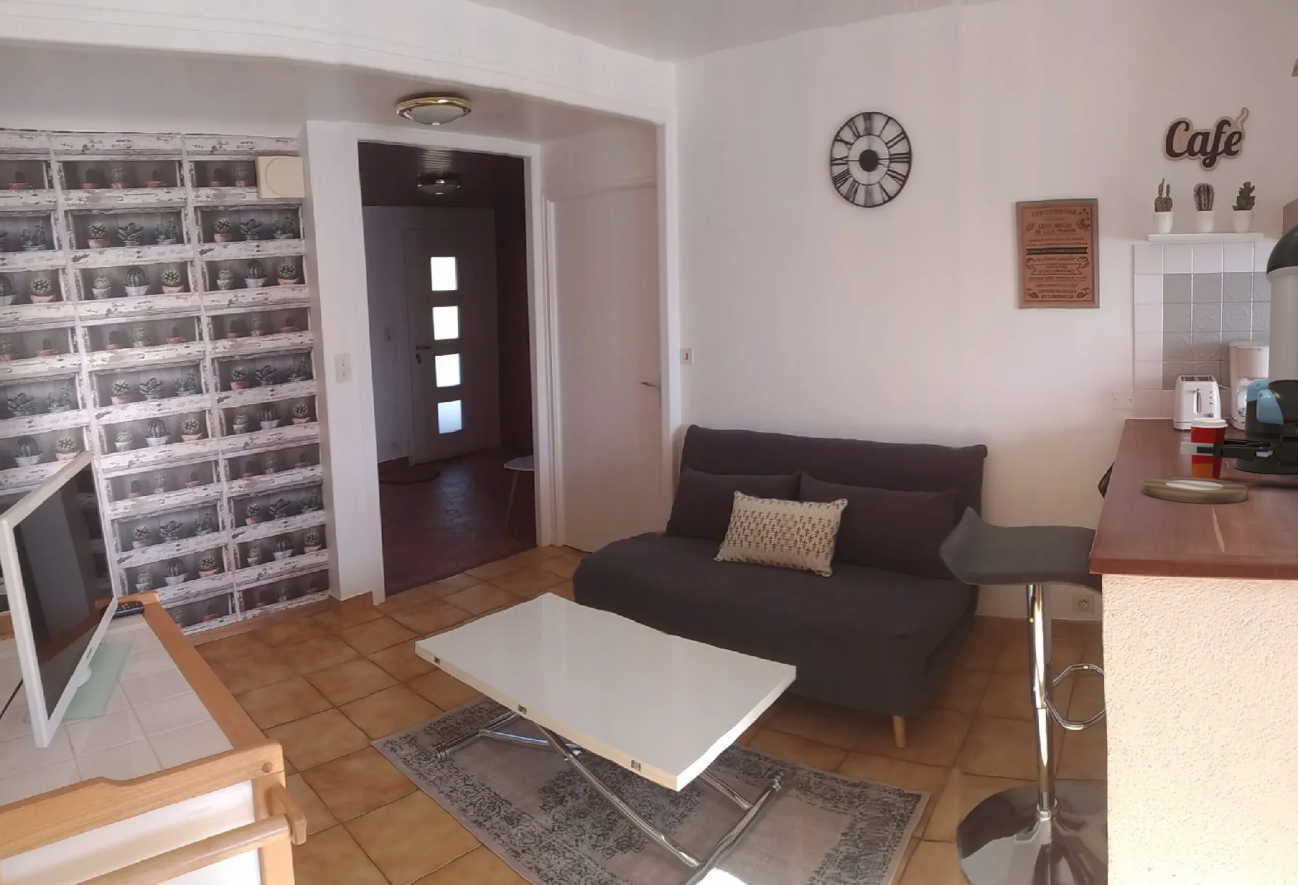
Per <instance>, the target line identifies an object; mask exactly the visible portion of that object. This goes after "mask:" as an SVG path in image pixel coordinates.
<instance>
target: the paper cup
mask: <svg viewBox="0 0 1298 885" xmlns="http://www.w3.org/2000/svg"><path fill="white" fill-rule="evenodd" d="M1189 427H1190V438H1191V443H1207V444H1213V443H1214V442H1217V445H1224V439H1225V438H1226V430H1227V429H1226V428H1227V427H1228V424H1227V420H1225V419H1222V418H1220V417H1219V418H1218V417H1194V418H1192V419H1191V421H1190V423H1189ZM1190 458H1191V477H1193V478H1207V479H1216V480H1220V478H1221V471H1222V465H1223V464H1222V463H1223V458H1216V456H1208V455H1191V457H1190Z"/></svg>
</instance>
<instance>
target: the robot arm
mask: <svg viewBox="0 0 1298 885" xmlns="http://www.w3.org/2000/svg"><path fill="white" fill-rule="evenodd" d="M1265 273H1266V274H1265V275H1266V277H1265V279H1266V281H1267V282H1269V283H1271V284H1270V306H1269V307H1270V312H1269V313H1270V314H1269V342H1268V343H1269V344H1268V374H1267V375H1268V377H1267V378H1265V379H1264V378H1263V379H1260V380H1254V381H1252V382H1251V383H1249V385H1248V386H1247V390H1246V398H1245V402H1246V407H1245V417H1244V419H1245V420H1244V435H1243V438H1234V437H1225V439H1224V445H1217V442H1214V443H1213V444H1207V443H1191V437H1183V442H1182V441H1181V442H1180V448H1179V450H1180V451H1179V453H1180V455H1208V456H1216V458H1222V459H1234V464H1233V466H1234V469H1237V470H1240V471H1246V472H1251V473H1259V472H1260V473H1261V474H1262V473H1263V474H1273V475H1274V474H1275V475H1276V474H1277V475H1278V474H1280V475H1283V474H1287V475H1288V474H1291V475H1292V474H1298V223H1297V224H1295V225H1293V226H1292V227H1290V228H1289V229H1288V230H1287V231H1285V233H1284V234H1283V235H1281V237H1280V238H1279V239H1278V241H1277V242H1276V243H1275V245H1274V247H1273V248H1272V250H1271V253H1270V254H1269V257H1268V259H1267V264H1266V270H1265Z"/></svg>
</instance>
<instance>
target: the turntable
mask: <svg viewBox="0 0 1298 885" xmlns="http://www.w3.org/2000/svg"><path fill="white" fill-rule="evenodd" d="M1248 491H1249V488H1248V487H1247V485H1243V484H1241V483H1238V482H1234V481H1229V480H1222V479H1219V480H1216V479H1207V478H1193V477H1192V476H1191V477H1188V476H1173V477H1172V476H1171V477H1170V476H1168V477H1165V476H1164V477H1155V478H1150V479H1149V478H1148V479H1146V480H1143V482H1142V493H1143V494H1144V495H1146V496H1148V497H1152V498H1153V499H1154V498H1155V499H1158V500H1164V501H1169V502H1170V501H1171V502H1177V503H1187V504H1188V503H1189V504H1202V505H1204V504H1205V505H1207V504H1209V505H1211V504H1212V505H1213V504H1214V505H1219V504H1223V505H1225V504H1235V503H1236V504H1237V503H1240V502H1241V503H1242V502H1245V501H1246V500H1248V498H1249V497H1248V494H1249V492H1248Z"/></svg>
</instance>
